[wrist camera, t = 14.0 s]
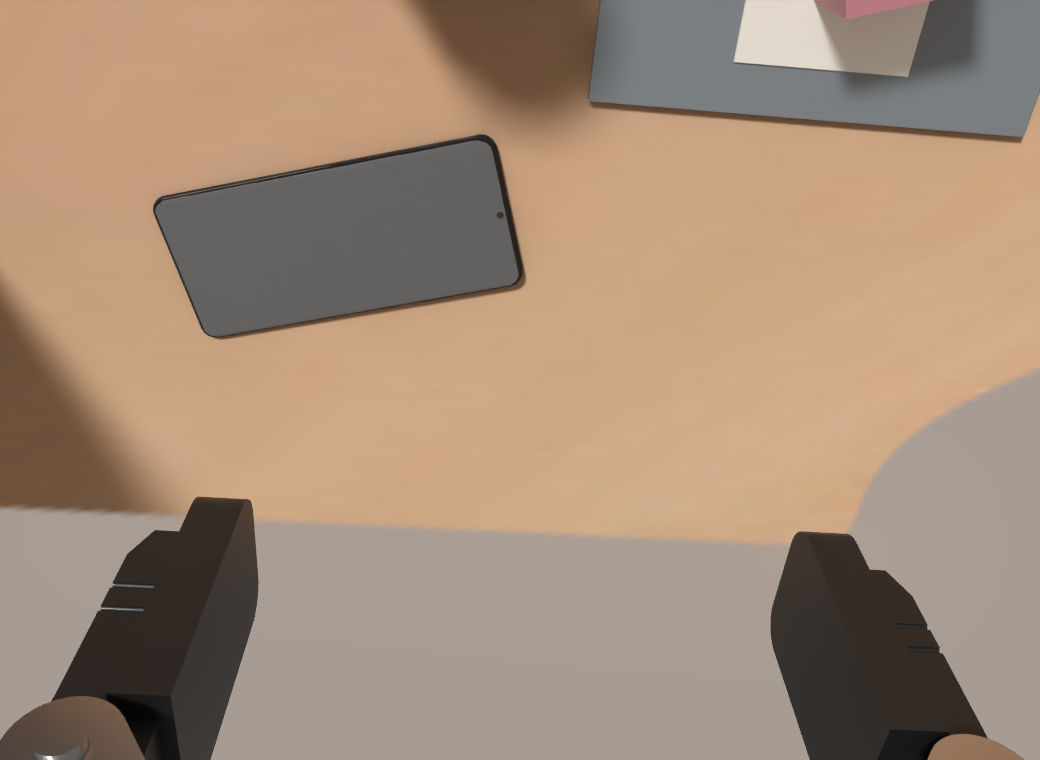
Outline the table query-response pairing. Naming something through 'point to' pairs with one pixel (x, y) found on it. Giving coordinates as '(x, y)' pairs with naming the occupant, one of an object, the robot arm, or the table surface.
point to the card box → (865, 6)
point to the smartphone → (343, 237)
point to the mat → (825, 61)
